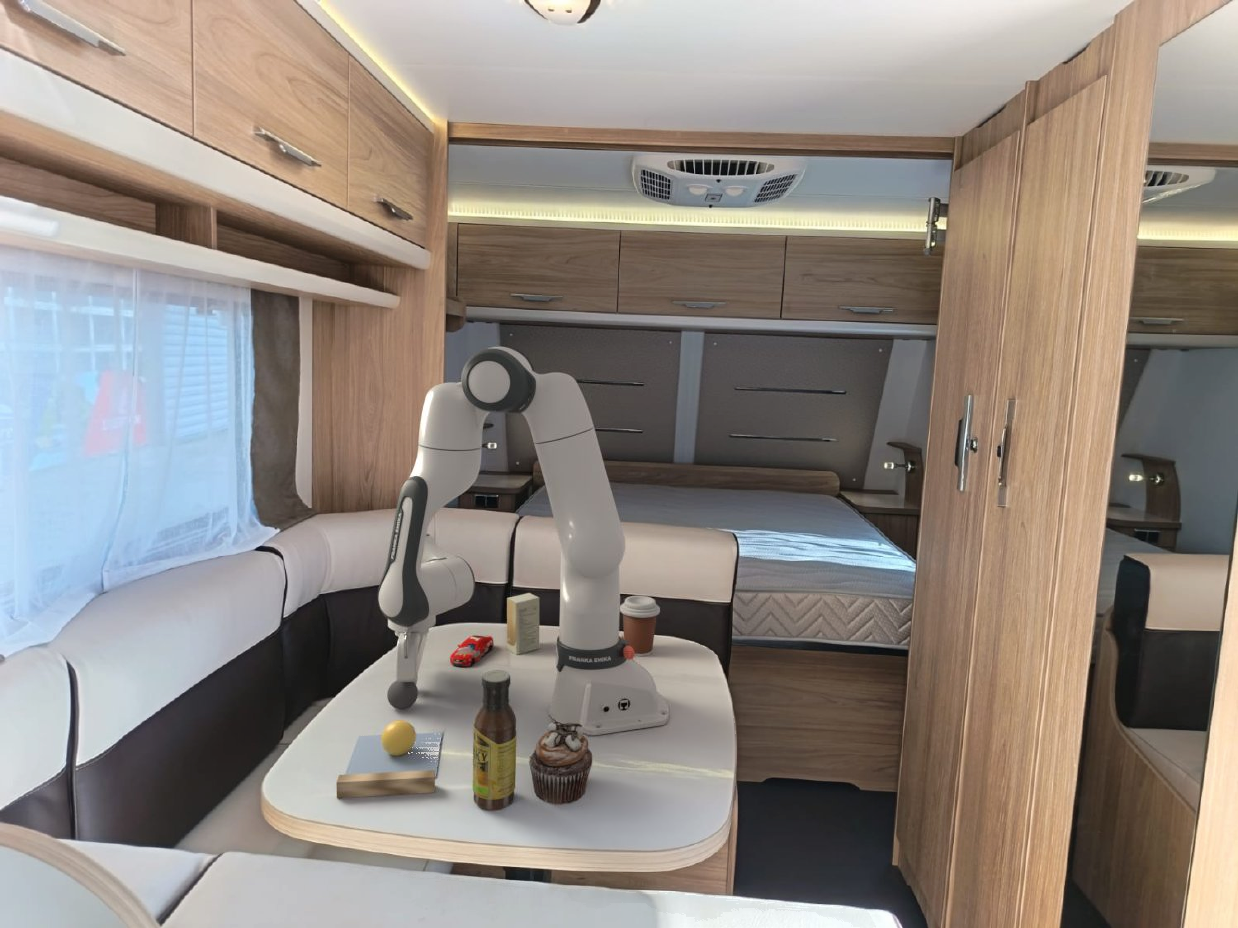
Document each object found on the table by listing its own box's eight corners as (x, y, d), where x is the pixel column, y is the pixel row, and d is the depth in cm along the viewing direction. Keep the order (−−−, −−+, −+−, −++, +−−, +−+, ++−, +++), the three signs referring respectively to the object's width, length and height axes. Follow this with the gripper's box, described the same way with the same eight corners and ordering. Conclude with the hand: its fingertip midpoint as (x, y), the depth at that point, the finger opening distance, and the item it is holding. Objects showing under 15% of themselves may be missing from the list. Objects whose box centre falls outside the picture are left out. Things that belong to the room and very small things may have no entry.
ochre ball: (414, 749, 120) (416, 757, 125) (415, 714, 123) (417, 723, 128) (378, 752, 119) (382, 760, 124) (380, 717, 122) (383, 726, 127)
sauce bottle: (468, 793, 113) (469, 668, 110) (508, 785, 116) (510, 662, 113) (478, 817, 108) (479, 685, 105) (520, 808, 110) (522, 679, 107)
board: (442, 733, 131) (442, 732, 131) (435, 777, 117) (435, 776, 117) (359, 737, 128) (358, 735, 128) (342, 782, 115) (342, 781, 115)
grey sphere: (412, 682, 136) (415, 712, 137) (419, 672, 142) (422, 701, 142) (381, 685, 136) (385, 715, 136) (390, 676, 142) (393, 704, 142)
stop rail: (434, 784, 115) (434, 769, 115) (433, 792, 113) (433, 777, 113) (339, 790, 113) (339, 774, 113) (336, 797, 111) (336, 782, 111)
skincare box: (529, 643, 173) (530, 591, 171) (540, 649, 170) (541, 596, 168) (505, 649, 169) (506, 596, 167) (515, 655, 166) (516, 602, 164)
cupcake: (529, 772, 120) (531, 713, 118) (590, 772, 120) (592, 713, 119) (526, 808, 110) (527, 744, 109) (592, 807, 111) (594, 744, 109)
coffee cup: (615, 644, 174) (616, 594, 172) (653, 642, 176) (655, 593, 174) (622, 659, 165) (624, 607, 164) (662, 658, 167) (664, 606, 165)
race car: (467, 671, 157) (467, 653, 157) (445, 666, 159) (445, 649, 159) (498, 648, 170) (498, 631, 169) (476, 644, 172) (476, 628, 171)
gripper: (423, 635, 134) (423, 707, 136) (433, 598, 154) (433, 662, 156) (387, 636, 133) (387, 709, 135) (401, 599, 153) (402, 663, 155)
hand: (412, 684), depth 146 cm, fingers closed
